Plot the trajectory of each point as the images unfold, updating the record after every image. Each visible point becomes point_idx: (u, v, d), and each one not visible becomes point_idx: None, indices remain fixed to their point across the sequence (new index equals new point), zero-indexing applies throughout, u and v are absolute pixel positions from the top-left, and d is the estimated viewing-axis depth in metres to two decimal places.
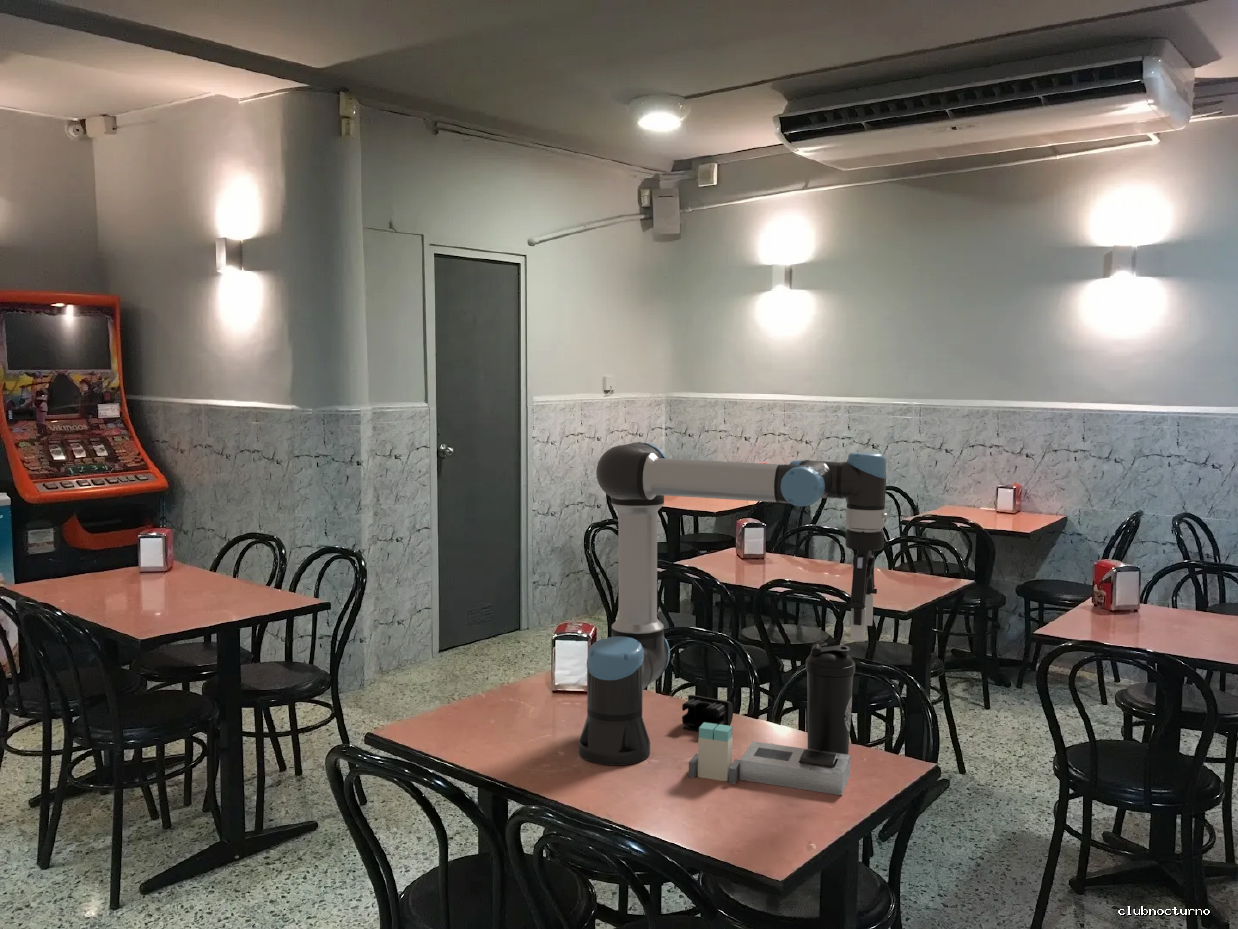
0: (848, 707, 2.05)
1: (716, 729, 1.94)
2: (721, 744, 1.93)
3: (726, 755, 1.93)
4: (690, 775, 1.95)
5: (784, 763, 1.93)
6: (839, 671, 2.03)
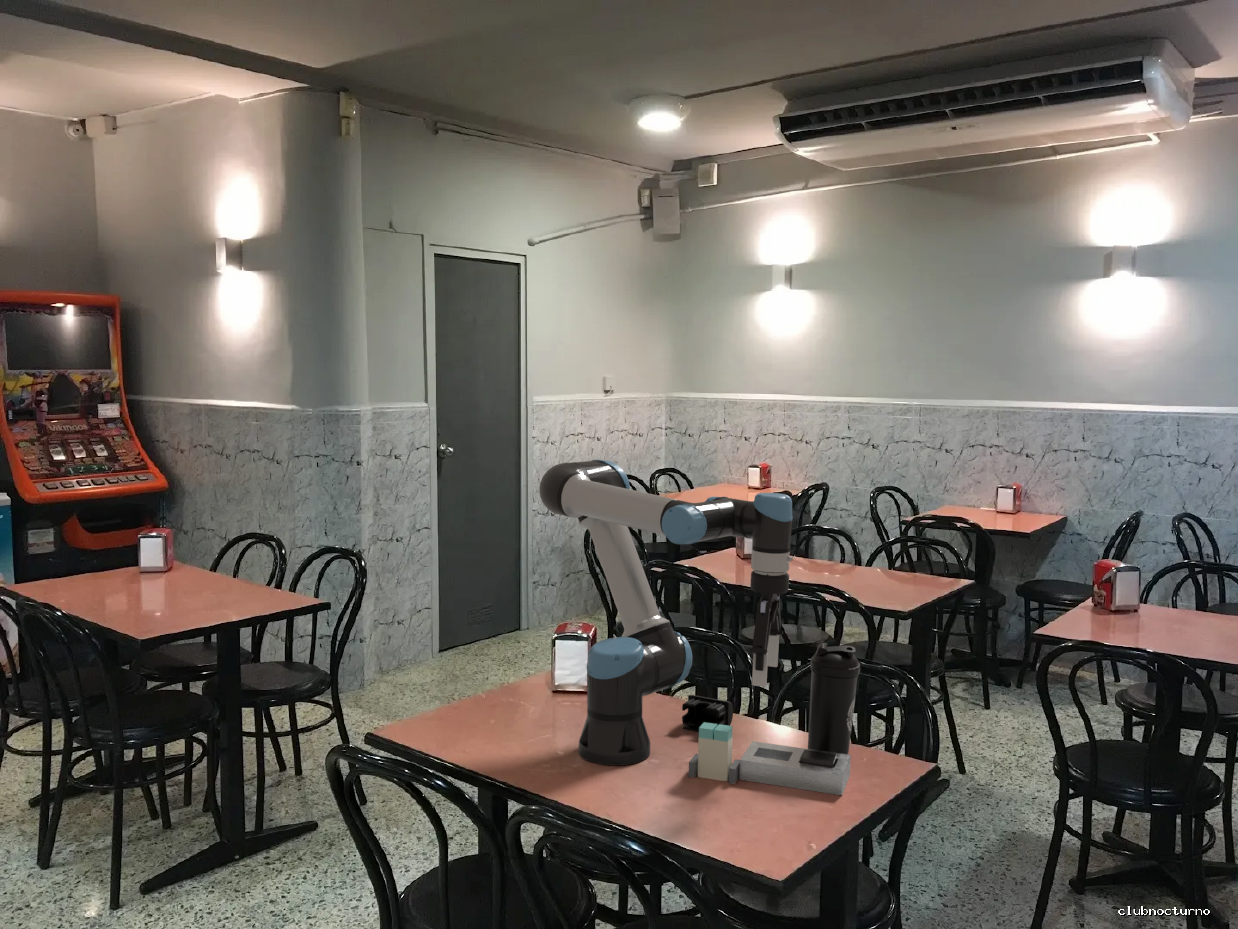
0: (851, 708, 2.05)
1: (716, 729, 1.94)
2: (721, 744, 1.93)
3: (726, 755, 1.93)
4: (690, 775, 1.95)
5: (784, 763, 1.93)
6: (844, 672, 2.02)
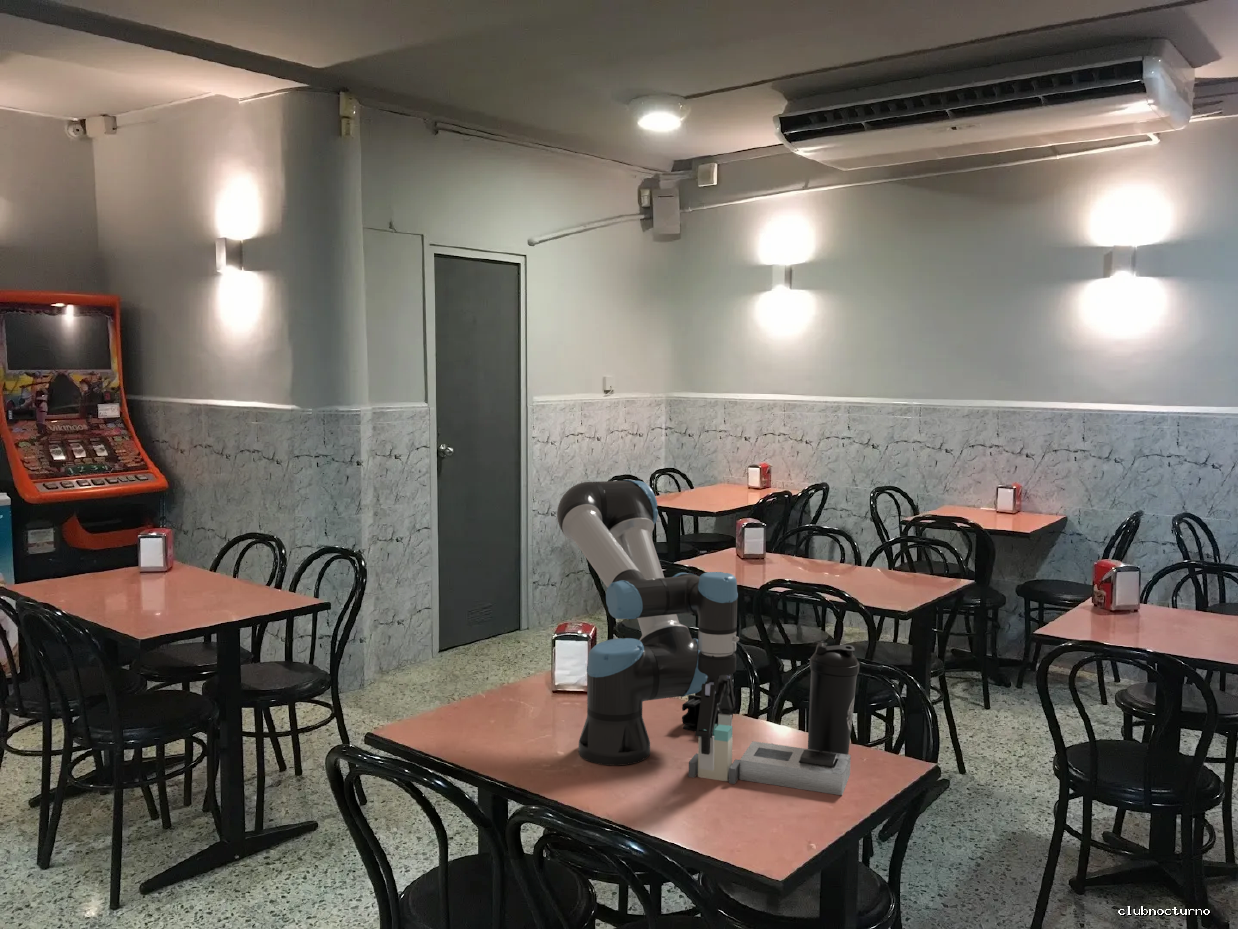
0: (851, 707, 2.05)
1: (716, 729, 1.94)
2: (721, 744, 1.93)
3: (726, 755, 1.93)
4: (690, 775, 1.95)
5: (784, 763, 1.93)
6: (844, 670, 2.03)
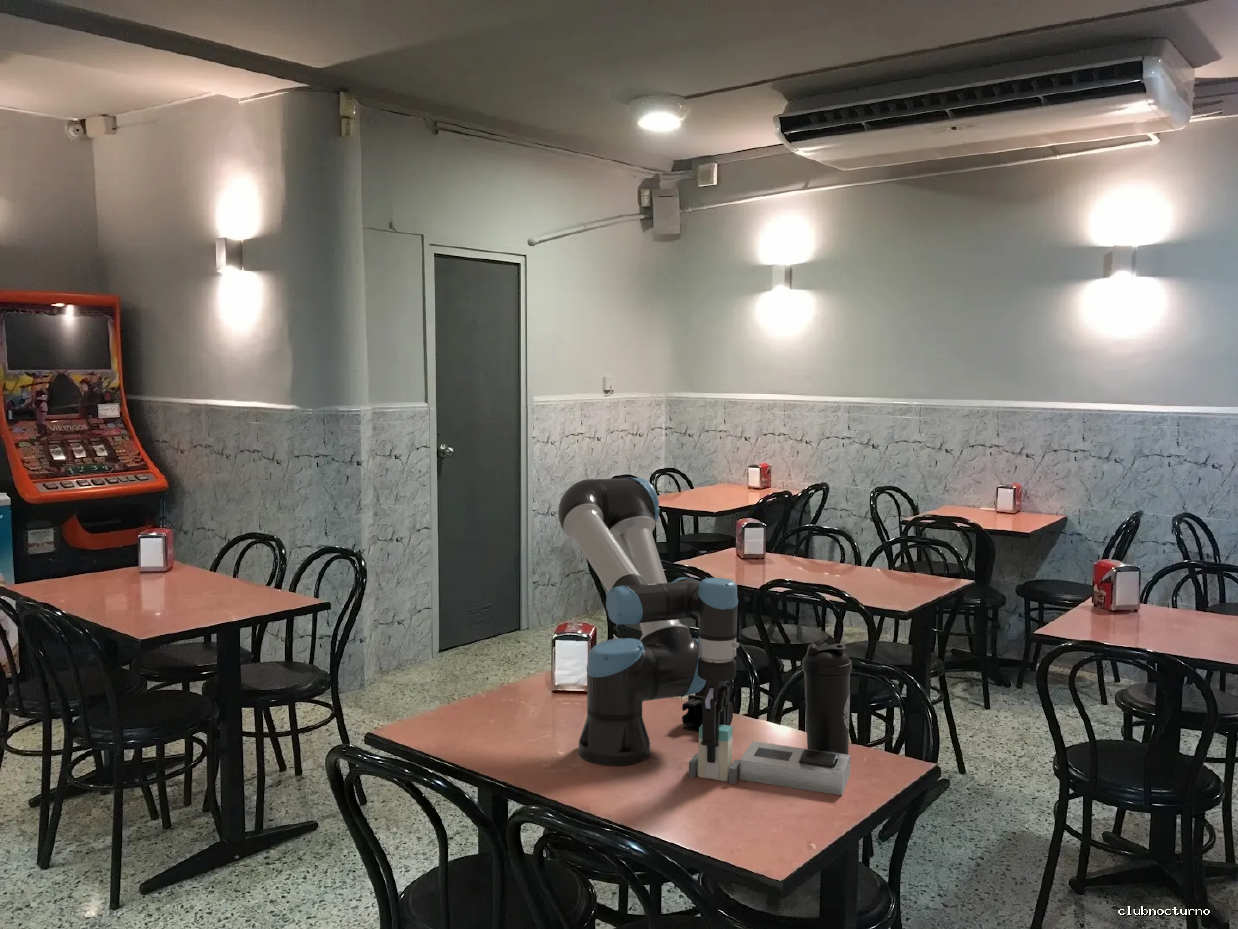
0: (846, 705, 2.05)
1: None
2: (721, 744, 1.93)
3: (726, 755, 1.93)
4: (690, 775, 1.95)
5: (784, 763, 1.93)
6: (837, 669, 2.03)
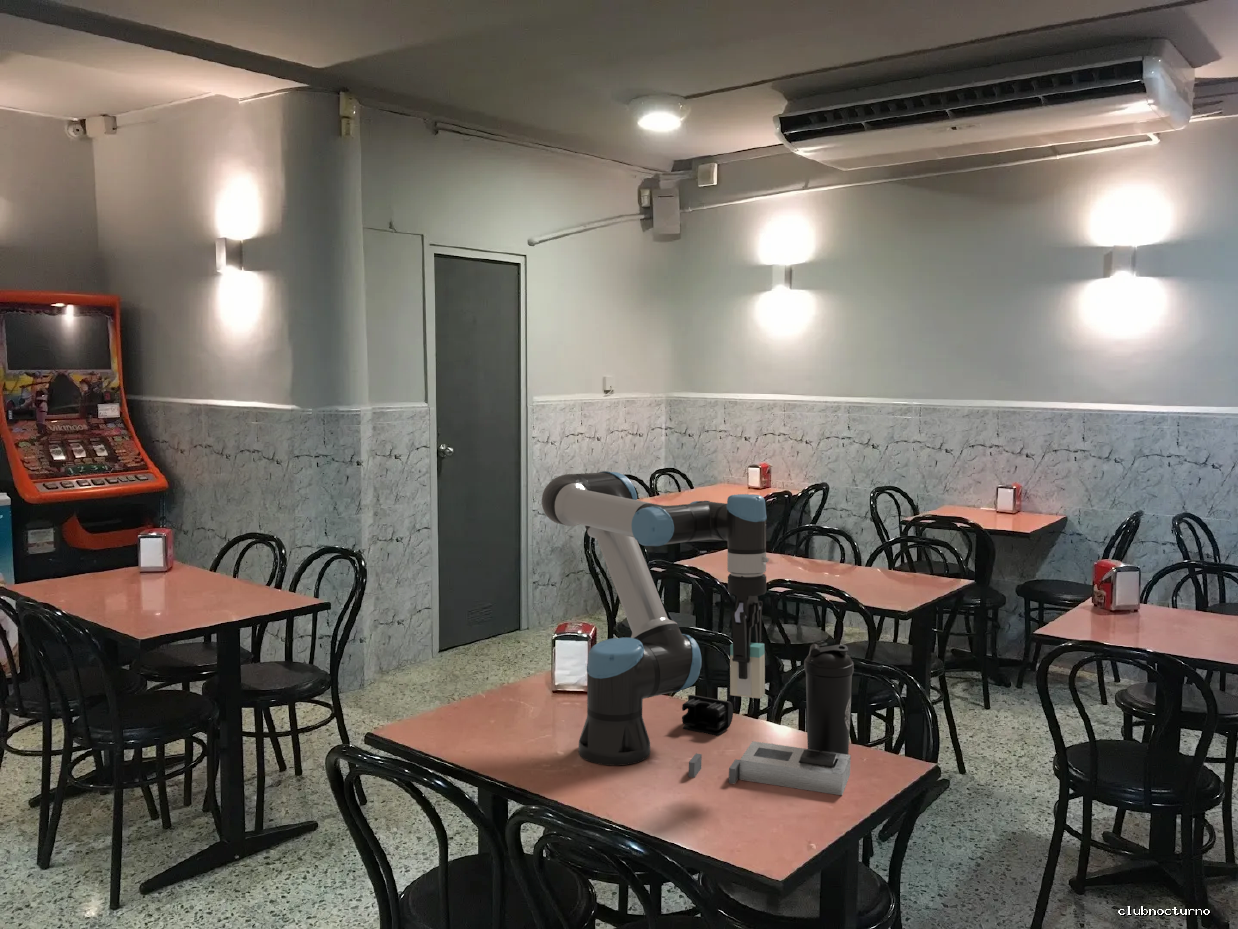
0: (848, 706, 2.05)
1: None
2: (753, 660, 1.92)
3: (758, 671, 1.91)
4: (690, 775, 1.95)
5: (784, 763, 1.93)
6: (839, 671, 2.02)
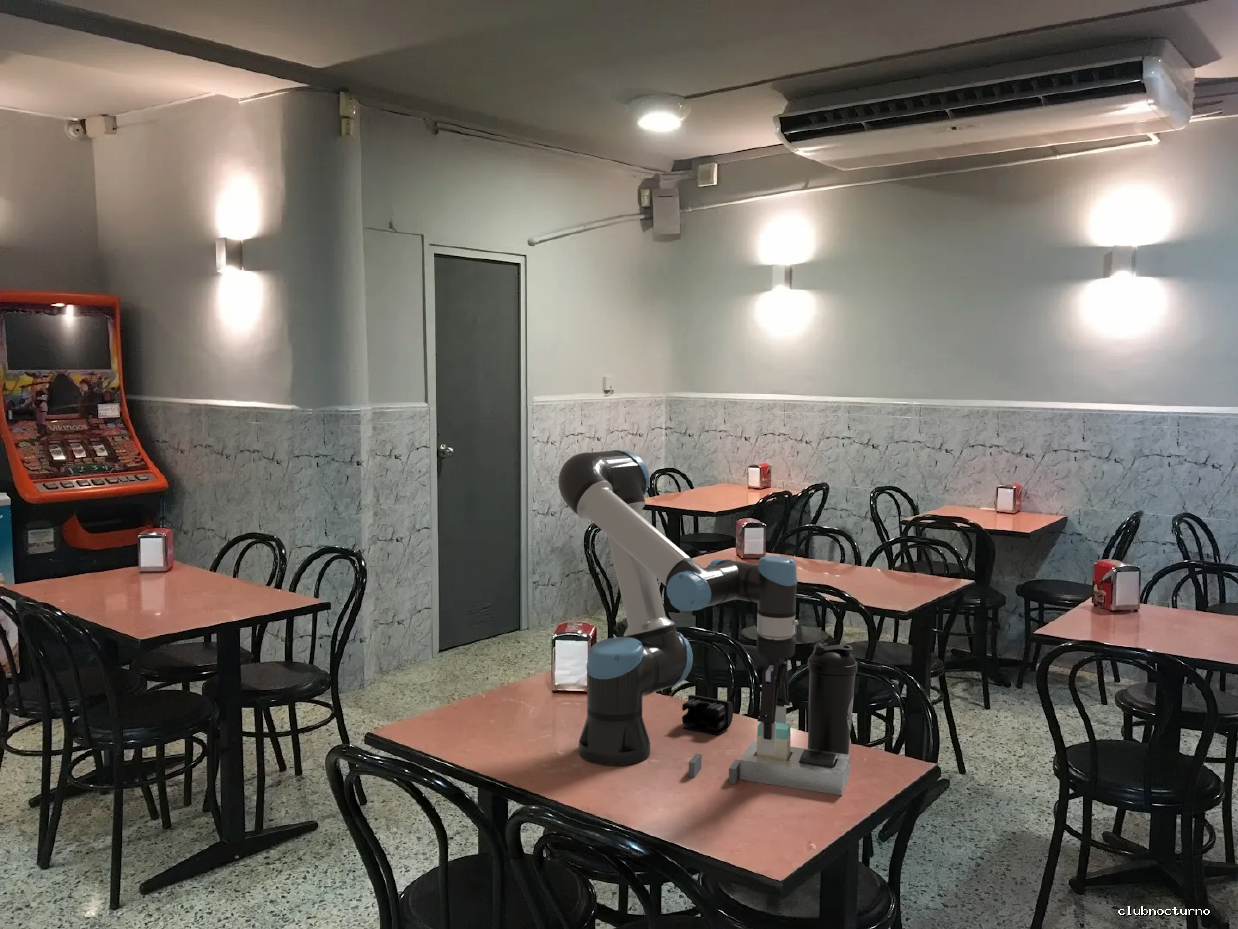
0: (850, 706, 2.06)
1: None
2: (780, 742, 1.95)
3: (785, 753, 1.95)
4: (690, 775, 1.95)
5: (784, 763, 1.93)
6: (844, 669, 2.03)
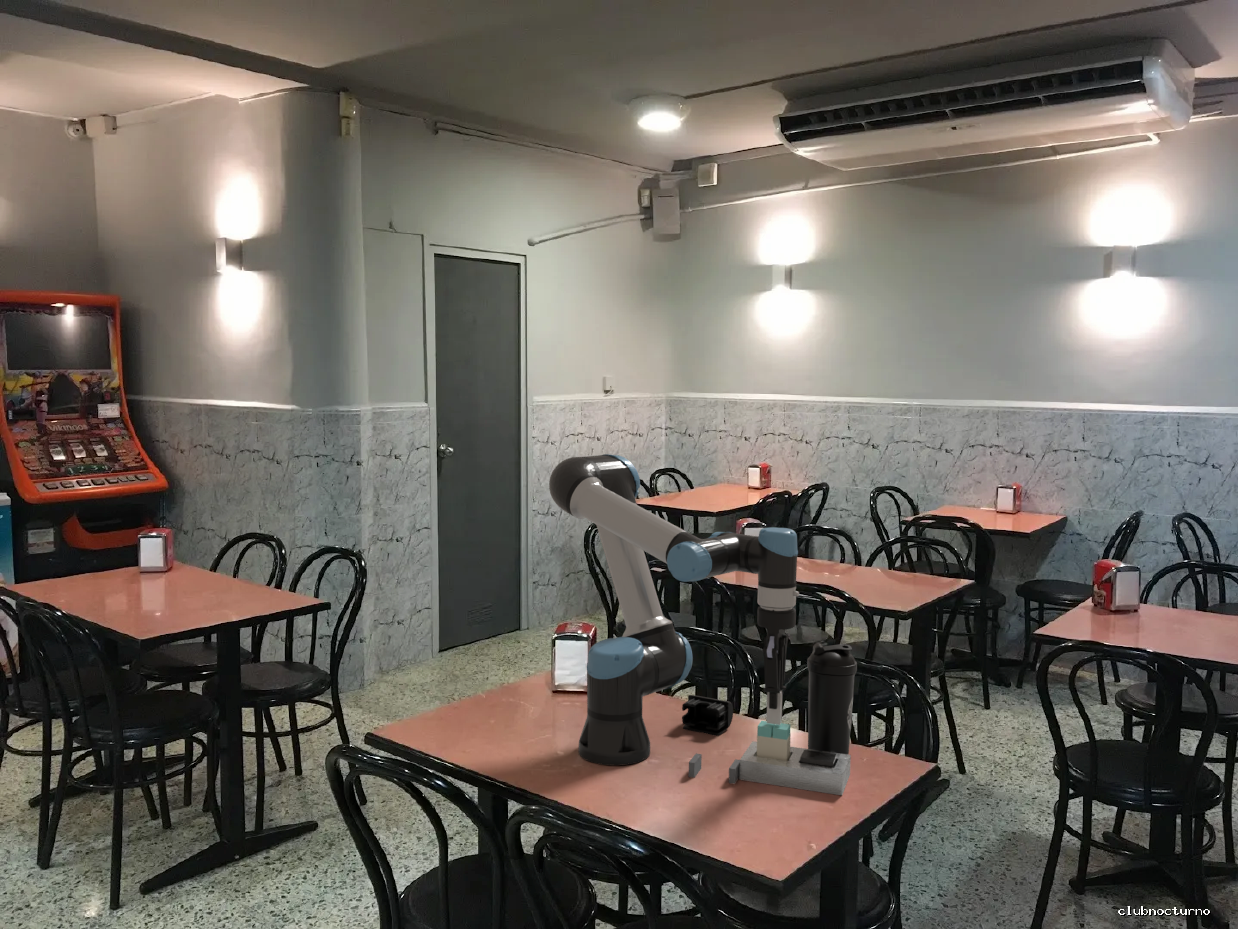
0: (850, 706, 2.06)
1: (775, 727, 1.95)
2: (780, 742, 1.95)
3: (785, 753, 1.95)
4: (690, 775, 1.95)
5: (784, 763, 1.93)
6: (844, 669, 2.03)
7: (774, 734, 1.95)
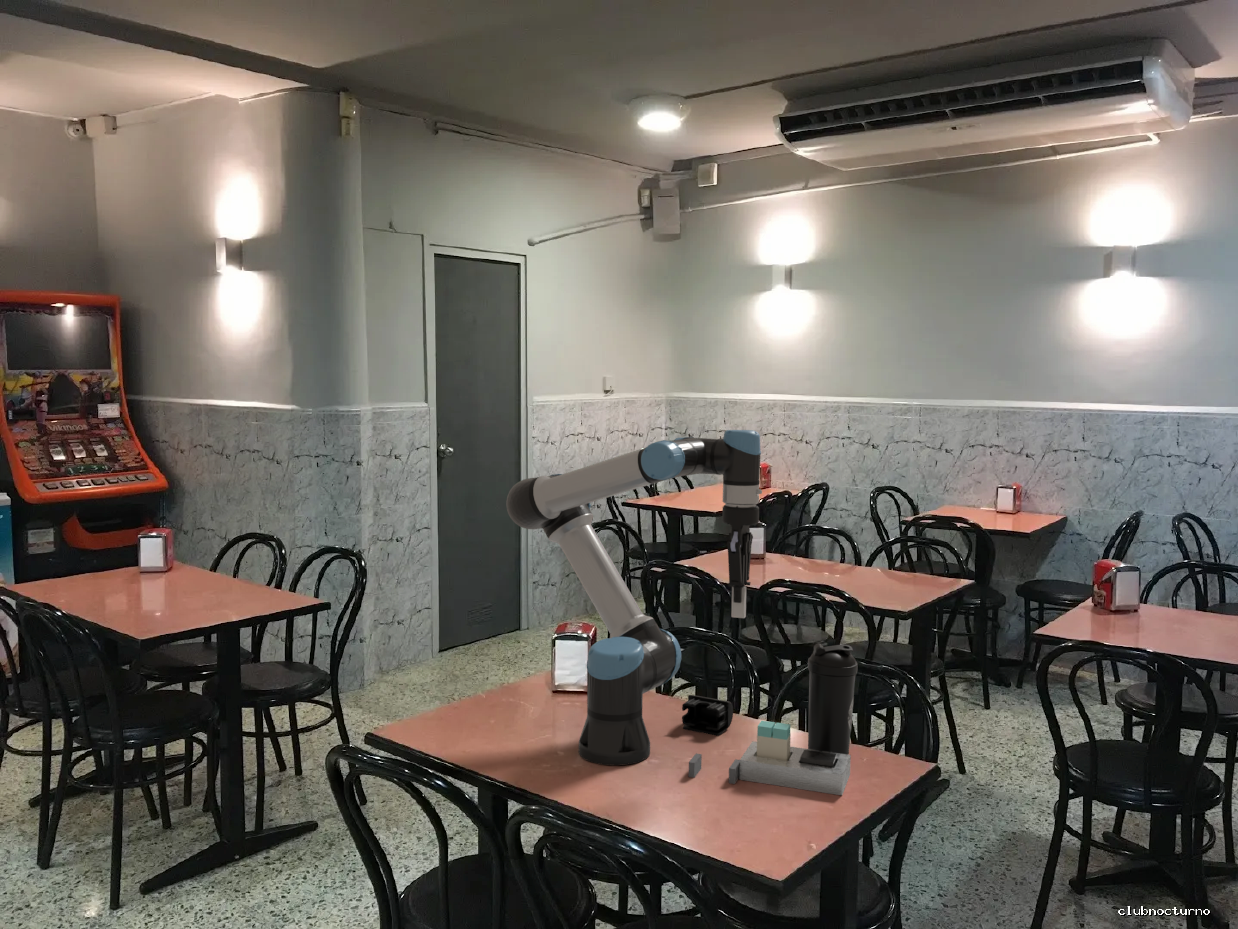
0: (851, 706, 2.06)
1: (775, 727, 1.95)
2: (780, 742, 1.95)
3: (785, 753, 1.95)
4: (690, 775, 1.95)
5: (784, 763, 1.93)
6: (845, 670, 2.03)
7: (774, 734, 1.95)
